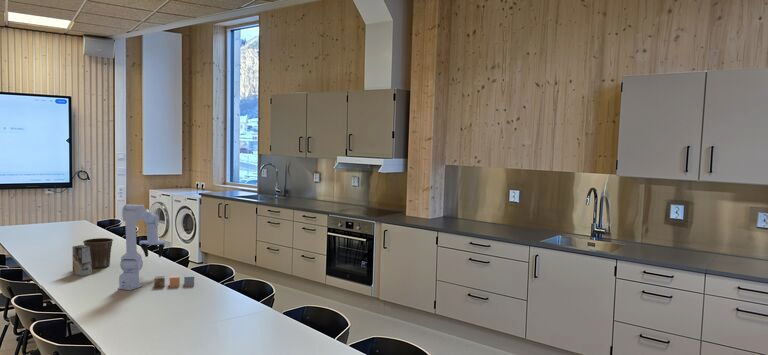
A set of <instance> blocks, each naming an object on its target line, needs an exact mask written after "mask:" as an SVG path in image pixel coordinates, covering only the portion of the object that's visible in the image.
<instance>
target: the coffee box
mask: <svg viewBox="0 0 768 355" xmlns="http://www.w3.org/2000/svg"><path fill="white" fill-rule="evenodd" d="M71 248H72V275H77V276H80V277H84V276H89V275H92V273H93V271H92V270H93V268H92V247H91V246H85V245H84V244H80V245H73V246H72V247H71Z"/></svg>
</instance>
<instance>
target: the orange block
mask: <svg viewBox="0 0 768 355" xmlns="http://www.w3.org/2000/svg"><path fill="white" fill-rule="evenodd" d="M180 279H181V278H180V274H178V275H175V274H174V275H169V288H174V287H175V286H176V287H180V285H181V284H180V281H181V280H180ZM176 287H175V288H176Z"/></svg>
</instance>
